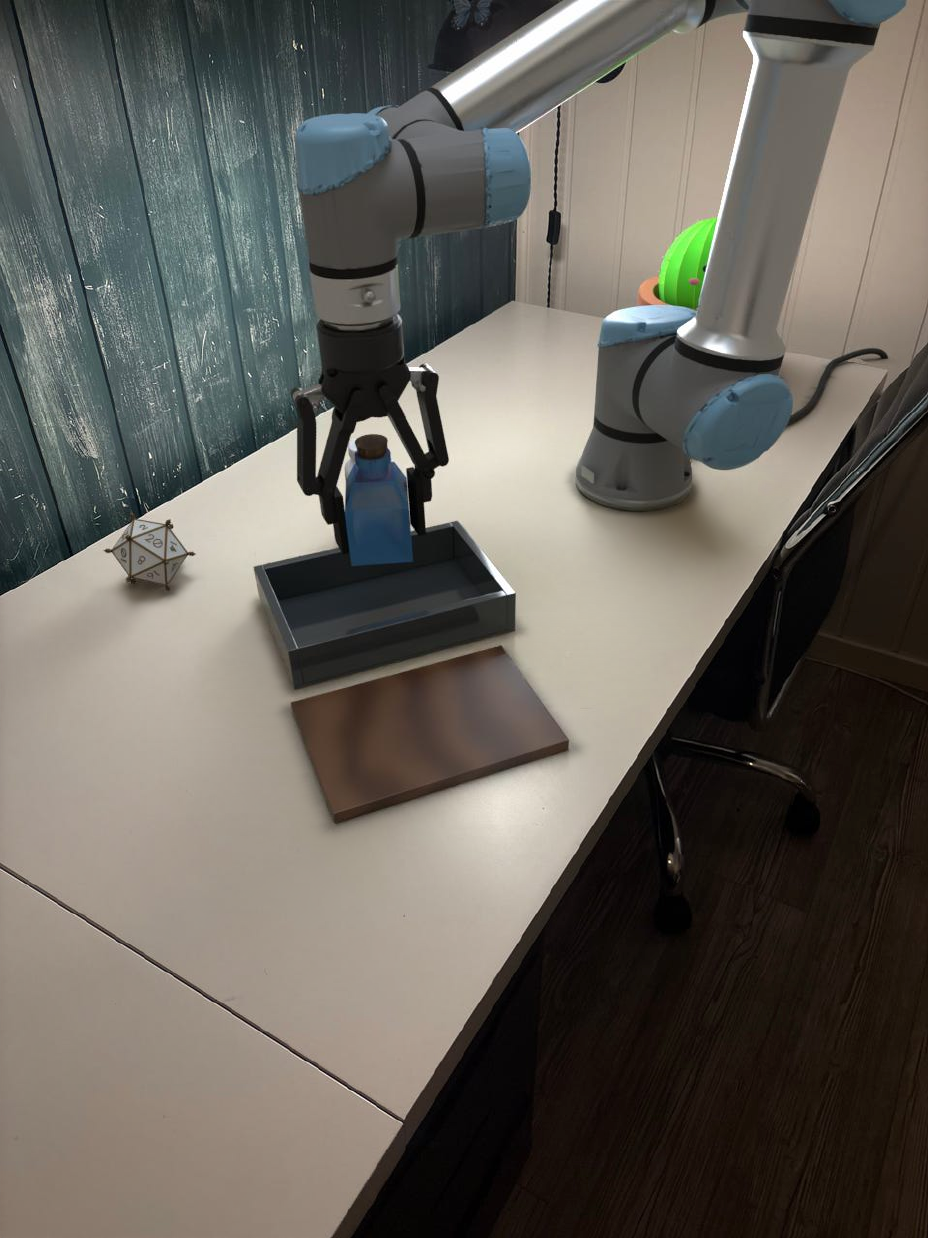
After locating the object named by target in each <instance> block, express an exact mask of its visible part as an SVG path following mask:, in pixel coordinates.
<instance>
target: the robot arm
mask: <svg viewBox="0 0 928 1238" xmlns="http://www.w3.org/2000/svg"><path fill="white" fill-rule="evenodd" d="M905 7H907V0H561V1H559V2H558V3H557V4H555V5H554V6H552V7H551V8H549V9H547V10H546V11H544V12H543V13H541V14H539V16H537V17H535V18H534V19H532V20H531V21H529V22H528V23H526V24H525V25H523V26H521V27H520V28H519V29H517V30H515V31H514V32H513V33H511V34H510V35H508V36H506V37H505V38H504V39H501V40H500V41H499V42H497V43H496V44H494V45H493V46H491V47H490V48H488V49H487V50H485V51H483V52H482V53H480V54H479V55H478V56H476V57H474V58H473V59H471V60H470V61H468V62H467V63H465V64H463V65H462V66H461V67H459V68H458V69H456V70H454V71H453V72H452V73H450V74H448V75H447V76H446V77H444V78H442V79H441V80H439V81H438V82H435V84H433V85H431V86H430V87H428V88H427V89H425V90H424V91H422V92H420V93H418V94H417V95H415V96H414V97H412V98H410V99H408V101H406V102H404V103H403V104H401V105H392V104H390V105H385V106H377V107H376V108H372V109H371V110H369V111H368V112H366V113H359V112H358V113H357V112H355V113H354V112H351V113H332V114H331V113H330V114H324V115H319V116H314V117H311V118H308V119H306V120H304V121H303V122H301V124H299V126H298V127H297V129H296V130H295V133H294V152H295V153H294V155H295V167H296V180H297V181H296V190H297V191H298V194H299V202H300V207H301V214H302V221H303V228H304V229H303V230H304V234H305V242H306V249H307V254H308V255H307V256H308V265H309V275H310V276H309V277H310V283H311V284H310V285H311V293H312V302H313V310H314V315H315V316H316V317H317V319H319V320H318V321H317V323H316V333H317V341H318V349H319V355H320V357H319V358H320V364H321V365H320V366H321V373H320V376H319V378H318V383H316V384H314V385H311V386H309V387H306V388H303V389H302V388H301V387H298V386H295V387H293V388H292V389H291V390H290V399H291V401H292V403H293V405H294V408H295V411H296V483H298V486H299V488H300V490H301V491H302V493H303V494H304V495H305V496H307V497H310V496H311V497H312V496H313V495H317V496H318V499H319V500H318V501H319V507H320V513H321V517H322V518H323V519H324V522H325V523H326V524H327V526H330V525H332V528H333V533H334V541H335V542H334V543H336V545H337V548H338V547H339V549H340V551H341V552H342V554H348V553H350V550H349V542H348V534H347V526H346V518H345V500H344V496H343V494H342V493H341V491H340V489H339V488H338V483H339V479H340V475H341V472H342V467H343V465H344V461H345V457H346V454H347V452H348V445H349V443H350V441H351V436H352V434H354V432H355V430H356V426H357V423H360V422H364V421H366V420H368V419H371V418H386V417H387V418H388V419H389V422H390V423H391V425H392V427H393V429H394V431H395V432H396V434H397V436H398V438H399V441H400V442H401V444H402V446H403V447H404V449H405V451H406V453H407V455H408V457H409V458H410V460H411V462H412V464H413V465H414V466H410V467H407V468H405V470H406V471H405V472H406V473H405V474H406V478H407V490H408V503H409V516H410V526H411V528H413V531H414V530H415V531H416V532H417V534H418V535H419V536H422V535H426V528H427V527H426V526H427V525H426V512H425V511H426V510H425V504H426V503H428V502H431V501H432V499H433V485H432V484H433V483H432V482H433V481H432V479H434V477H435V476H436V471H435V469H437V468H438V467H439V468H440V467H446V466H447V465H448V464H449V462H450V458H449V457H450V456H449V452H448V447H447V443H446V438H445V432H444V428H443V427H444V426H443V424H442V418H441V412H440V408H439V403H438V398H437V394H438V389H439V381H440V376H439V374H438V373H437V372H436V371H435V370H434V369H433V368H432V367H431V366H430V365H429V364H428V363H422V364H420V365H419V366H418V367H414V366H413V367H411V366H410V367H409V366H408V365H407V363H406V360H405V345H404V331H403V329H404V328H403V320H402V318H401V316H400V315H399V314H398V313H399V312H400V311H401V309H402V308H401V307H402V306H401V305H402V304H401V292H400V282H399V280H400V279H399V265H398V264H399V256H398V241H399V240H408V239H415V238H421V237H428V236H435V235H443V234H449V233H457V232H465V231H469V230H470V231H472V230H478V229H483V230H488V229H489V228H491V227H495V226H499V225H503V224H507V223H511V222H514V221H516V220H518V219H519V218H520V217H521V216H523V213H524V211H525V210H526V209H527V206H528V204H529V200H530V197H531V189H532V186H531V185H532V169H531V162H530V158H529V154H528V150H527V148H526V146H525V143H524V141H523V140H522V138H521V137H520V136H519V134H518V133H519V132H521V131H523V129H526V128H527V127H528V126H530V125H531V124H533V123H535V122H536V121H538V120H540V119H541V118H543V117H544V116H545V115H547V114H548V113H550V112H551V111H553V110H554V109H556V108H558V107H559V106H561V105H562V104H563V103H565V102H566V101H569V100H570V99H571V98H572V97H575V96H576V95H577V94H579V93H581V92H582V91H584V90H585V89H587V88H588V87H590V86H591V85H593V84H594V83H596V82H597V81H599V80H601V79H602V78H604V77H605V76H607V75H608V74H609V73H611V72H612V71H614V70H615V69H617V68H618V67H620V66H622V65H623V64H625V63H626V62H628V61H630V60H631V59H632V58H634V57H635V56H637V55H638V54H640V53H641V52H643V51H644V50H646V49H648V48H649V47H651V46H653V45H654V44H655V43H657V42H659V41H661V39H663V38H664V37H666V36H668V35H669V34H671V33H672V32H675V33H676V34H679V35H689V34H691V33H692V32H694V31H696V30H697V29H698V28H700V27H701V26H703V25H704V24H707V23H708V22H710V21H713V20H715V19H717V18H721V17H724V16H729V15H736V14H743V13H746V14H747V15H746V19H745V24H744V28H743V32H742V37H743V39H744V40H745V42H746V43H747V45H748V48H749V49H750V52H751V53H752V55H753V56H752V57H753V64H752V68H751V73H750V77H749V80H748V81H749V82H748V85H747V89H746V90H747V91H746V93H745V99H744V104H743V107H742V110H741V111H742V112H741V116H740V120H739V125H738V129H737V133H736V138H735V142H734V146H733V151H732V155H731V159H730V163H729V168H728V172H727V177H726V181H725V184H724V190H723V193H722V198H721V202H720V208H719V211H718V215H717V217H718V220H717V224H716V229H715V233H714V237H713V242H712V246H711V250H710V255H709V259H708V263H707V268H706V272H705V276H704V281H703V285H702V289H701V294H700V298H699V303H698V307H697V311H694V310H692V309H690V308H686V307H680V306H672V305H646V306H637V305H636V306H630V307H626V308H625V307H624V308H622V309H618V310H615V311H613V312H611V313H609V314H608V315H607V316H606V317H605V318H604V319H603V321H602V322H601V326H600V332H599V338H598V342H597V348H598V350H597V351H598V353H597V366H596V367H597V370H596V382H595V396H594V397H595V399H594V412H593V413H594V414H593V424H592V429H591V431H590V434H589V436H588V438H587V441H586V443H585V446H584V448H583V451H582V453H581V456H580V458H579V460H578V461H577V466H576V470H575V484H576V486H577V489H578V491H579V492H580V493H582V495H584V496H585V497H586V498H588V499H589V500H591V501H592V502H595V503H597V504H600V505H603V506H606V507H608V508H611V509H612V508H613V509H618V510H623V511H632V512H647V511H648V512H649V511H656V510H661V509H665V508H670V507H672V506H674V505H676V504H679V503H680V502H682V501H683V500H685V499H686V498H687V497H688V496H689V494H690V492H691V490H692V484H693V469H692V464H691V460H694V461H696V462H700V463H701V464H703V465H705V466H707V467H708V468H710V469H713V470H717V471H732V470H737V469H740V468H743V467H745V466H748V465H750V464H751V463H753V462H755V461H756V460H758V459H759V458H760V457H761V456H762V455H763V454H764V453H765V452H768V451H769V450H770V449H771V448H772V447H773V446H774V445H775V444H776V442H778V440H779V439H780V437H781V436H782V434H783V433H784V432H785V429H786V428H787V426H788V425H789V424H791V423H794V422H795V421H797V420H799V419H800V418H802V417H803V416H805V415H806V414H807V413H808V412H810V411H811V410H812V409H813V407H814V406H815V405H816V404H817V403H818V402H817V401H818V400H819V398H820V397H821V395H822V393H823V391H824V389H825V386H826V383H827V380H828V379H829V377H830V375H831V372H832V371H833V368H834V367H835V366H837V365H839V364H841V363H843V362H846V361H849V360H852V359H855V358H858V357H861V356H866V355H876V356H879V357H880V359H883V360H887V359H889V355H888V354H887V352H886V351H885V350H883V349H881V348H877V347H867V348H862V349H858V350H854V351H851V352H848V353H846V354H844V355H840V356H838V357H836V358H834V359H832V360H831V361H829V362H828V364H826V366H825V369H824V371H823V373H822V374H821V377H820V379H819V381H818V384H817V387H816V389H815V391H814V393H813V394H812V395H811V398H810V399H809V401H808V402H807V404H805V405H804V406H803V407H802V408H800V409H799V410H798V411H796V412H794V413H793V414H792V412H793V409H794V408H793V407H794V397H793V396H794V395H793V393H792V392H791V388H790V386H789V385H788V384H787V381H785V380H784V379H783V377H781V376H780V372H781V368H782V366H783V365H782V364H783V362H784V358H785V354H786V349H787V348H786V345H785V343H784V342H783V340H782V338H781V337H780V335H779V333H778V330H777V329H778V326H779V322H780V318H781V315H782V311H783V307H784V305H785V300H786V296H787V293H788V289H789V287H790V283H791V280H792V275H793V272H794V269H795V265H796V261H797V258H798V255H799V251H800V248H801V244H802V240H803V236H804V233H805V229H806V225H807V222H808V219H809V216H810V212H811V208H812V204H813V201H814V197H815V193H816V190H817V187H818V183H819V179H820V176H821V172H822V170H823V165H824V161H825V159H826V154H827V151H828V147H829V144H830V140H831V136H832V133H833V129H834V126H835V122H836V119H837V115H838V111H839V108H840V104H841V101H842V98H843V94H844V90H845V87H846V84H847V80H848V76H849V74H850V73H849V72H850V70H851V69H852V68H853V67H854V65H856V64H857V63H858V62H859V61H860V60H862V59H863V58H865V57H866V56H867V55H868V54H870V53H871V52H872V51H874V48H875V44H876V40H877V38H878V34H879V31H880V27H881V24H882V23H884V22H887V21H888V20H889V19H891V18H893V17H895V16H896V15H897V14H899V13H900V12H901V11H902V10H903V9H904V8H905ZM409 383H411V387H412V388H413V389H414V390H415V394H416V398H417V403H418V407H419V412H420V416H421V422H422V426H423V430H424V431H423V432H424V436H425V439H426V445H427V449H428V450H427V452H424V449H423V447H422V446H421V444H420V442H419V440H418V438H417V435H415V433H414V431H413V429H412V427H411V425H410V422H409V421H408V419H407V416H406V414H405V412H404V410H403V409H402V407H401V405H400V402H399V400H400V398H401V397H402V395H403V393H404V391H405V389H406V388H407V386H408V384H409ZM323 398H325V399H326V400H327V401H329V403H331V405H332V406H333V409H332V412H331V423H330V428H329V431H328V434H327V439H326V443H325V446H324V449H323V453H322V457H321V460H320V465H319V468H318V470H317V417H316V414H317V413H318V412H319V411H320V409H321V406H320V405H321V401H322V399H323ZM317 471H318V472H317Z"/></svg>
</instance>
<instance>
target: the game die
mask: <svg viewBox="0 0 928 1238" xmlns="http://www.w3.org/2000/svg"><path fill="white" fill-rule="evenodd" d="M129 517H130V519H132V520H131V522H130V523H129V524H128V526H127V527H126V528H125V530H124V531H123V533H122V534H121V536H120V537H119V539H118V540H117V541H116V543H115V545H114V546H113V547H112V549H110V548H106V549H103V550H102V551H103V552H105V553H106V554H111V553H112V555H113V556H114V558H115V559H116V560H117V562H118V563H119V565H120V566H121V567H122V569H123V570H124V571H125V573H126V574H127V576H126V578H125V583H130V585H135V584H136V581H140V582H145V583H149V584H154V585H160V586H164V587H165V591H166V592H168V593H171V587H170V585H169V584H170V583H171V580H172V579H173V577H174V576H175V575H176V573H177V572H178V570H179V569H180V567H181V566H182V564H183V563H184V562H185V560H186V559H187V557H188V556H190V557H193V556H195V555H197V553H195V552H194V551H188V550H187V549H186V548H185V546H184V545H183V543H182V542H181V540H180V539H179V538H178V537H177V535H176V534H175V533H174V531H173V529H174V523H172V521H171V518H170V519H165V520H166V521H165V522H164V523H162V522H156V521H151V520H145V519H139V518H136V515H135V513H133V512H131V511H130V512H129Z"/></svg>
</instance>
